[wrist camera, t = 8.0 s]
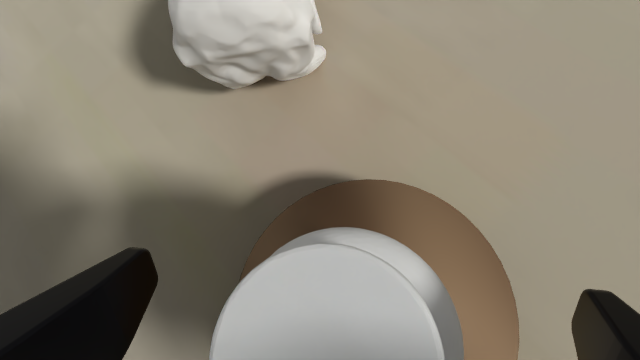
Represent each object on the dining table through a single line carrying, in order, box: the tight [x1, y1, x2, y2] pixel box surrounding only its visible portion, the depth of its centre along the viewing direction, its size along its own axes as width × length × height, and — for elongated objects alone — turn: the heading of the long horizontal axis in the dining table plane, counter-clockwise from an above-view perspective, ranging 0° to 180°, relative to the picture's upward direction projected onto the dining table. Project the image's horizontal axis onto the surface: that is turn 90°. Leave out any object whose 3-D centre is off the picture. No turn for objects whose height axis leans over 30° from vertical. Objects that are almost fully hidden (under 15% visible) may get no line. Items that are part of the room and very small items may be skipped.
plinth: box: [239, 180, 519, 360], centre depth 17 cm, size 11×11×3 cm
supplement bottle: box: [209, 227, 464, 360], centre depth 11 cm, size 5×5×10 cm
